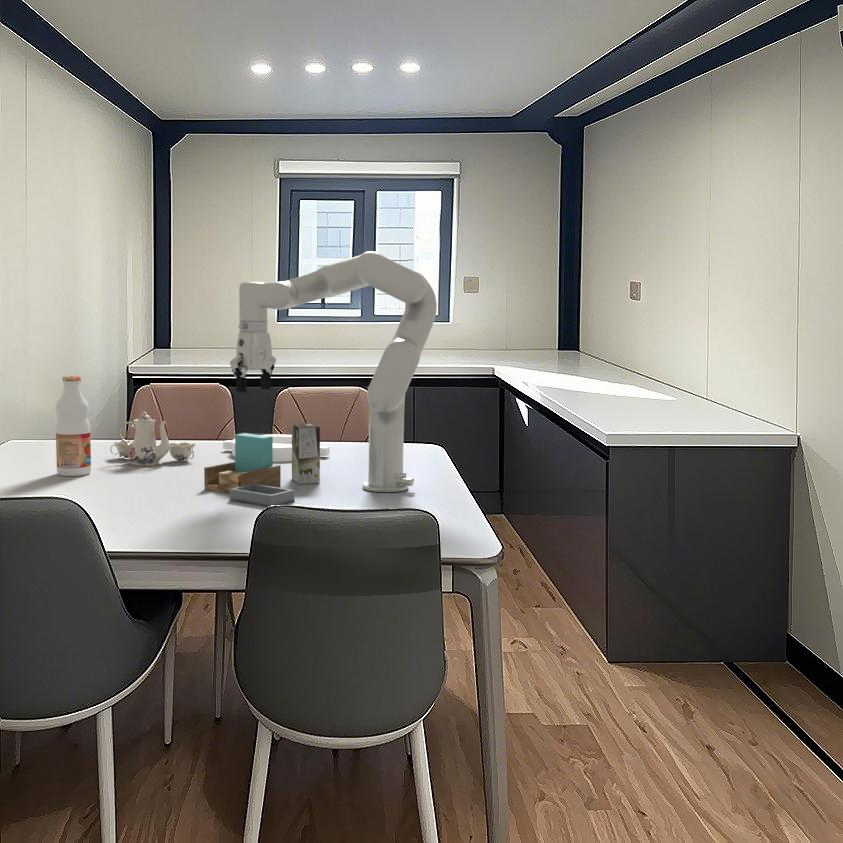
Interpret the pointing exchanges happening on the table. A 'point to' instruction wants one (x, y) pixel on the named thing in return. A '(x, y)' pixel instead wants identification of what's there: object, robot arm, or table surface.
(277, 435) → the white circle with bar
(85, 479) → the table surface
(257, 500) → the charcoal tray
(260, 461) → the teal sheet
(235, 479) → the offcut upper
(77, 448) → the fruit juice
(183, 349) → the table surface
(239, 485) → the offcut lower
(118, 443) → the chinaware
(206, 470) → the offcut rack
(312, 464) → the coffee box
